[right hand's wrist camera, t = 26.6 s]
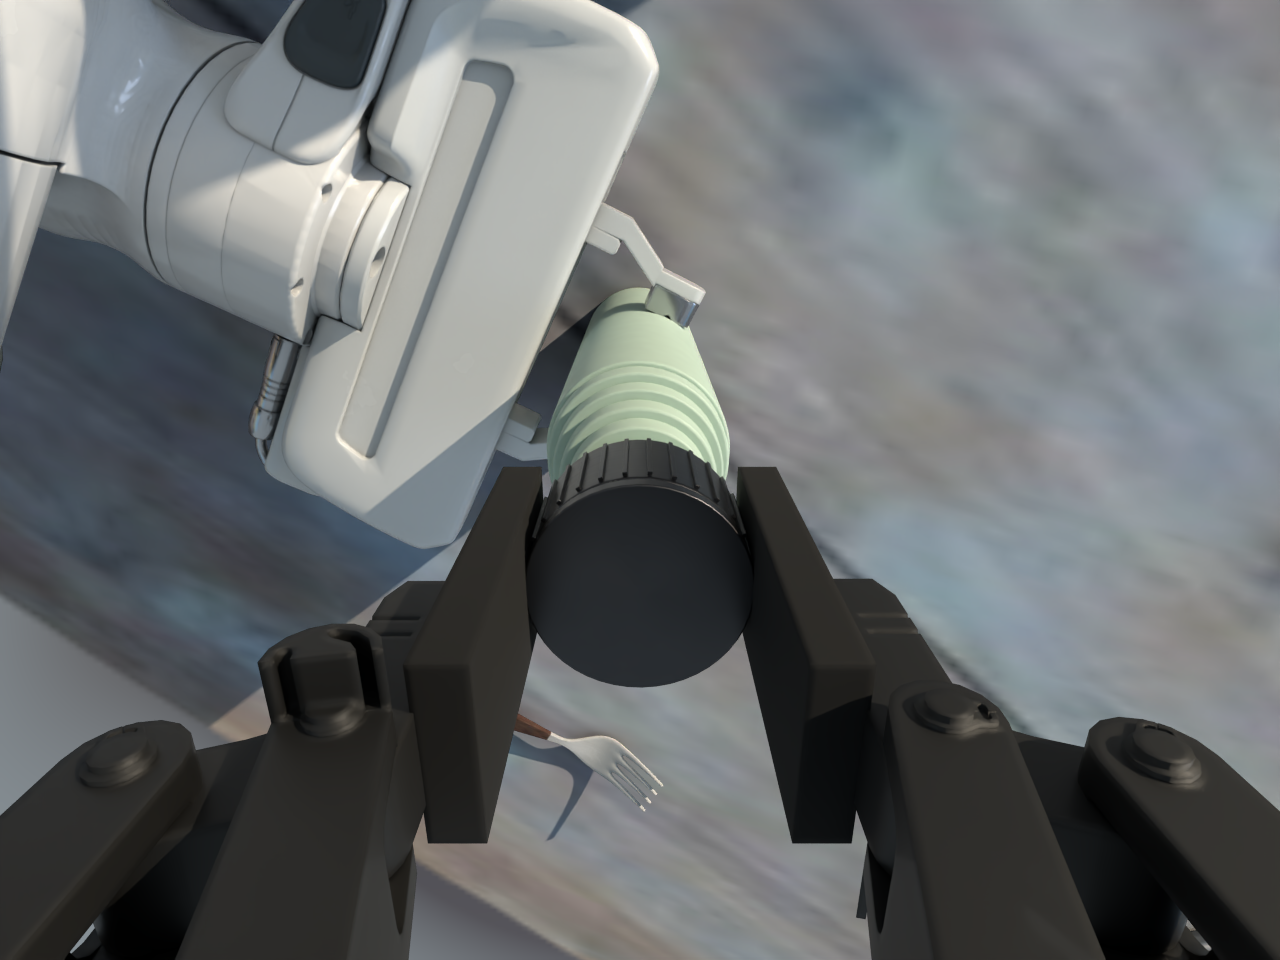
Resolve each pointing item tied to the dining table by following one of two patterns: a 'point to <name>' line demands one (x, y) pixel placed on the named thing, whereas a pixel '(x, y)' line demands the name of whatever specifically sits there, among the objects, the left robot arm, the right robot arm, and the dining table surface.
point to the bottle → (636, 388)
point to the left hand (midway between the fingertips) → (659, 380)
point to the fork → (595, 755)
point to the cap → (639, 565)
